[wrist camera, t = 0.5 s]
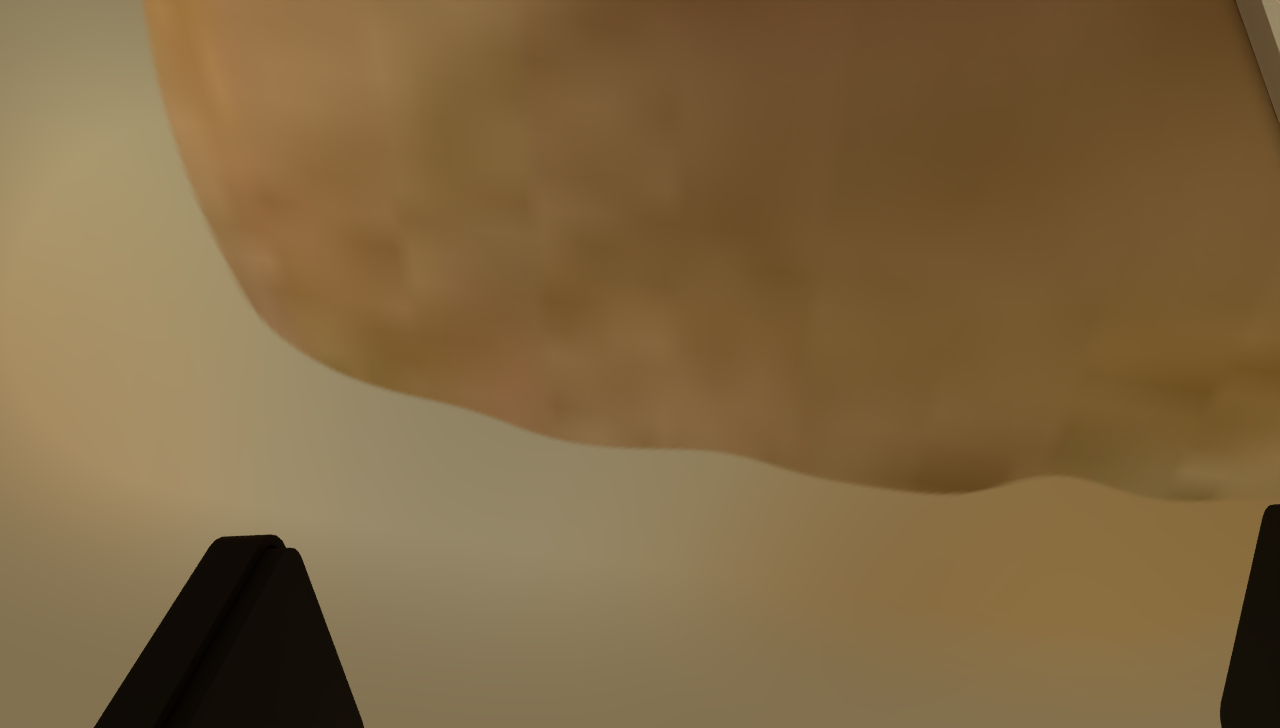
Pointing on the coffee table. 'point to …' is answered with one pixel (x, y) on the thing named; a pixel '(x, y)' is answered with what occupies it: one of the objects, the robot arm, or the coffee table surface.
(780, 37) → the coffee table surface
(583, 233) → the coffee table surface
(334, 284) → the coffee table surface
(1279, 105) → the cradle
